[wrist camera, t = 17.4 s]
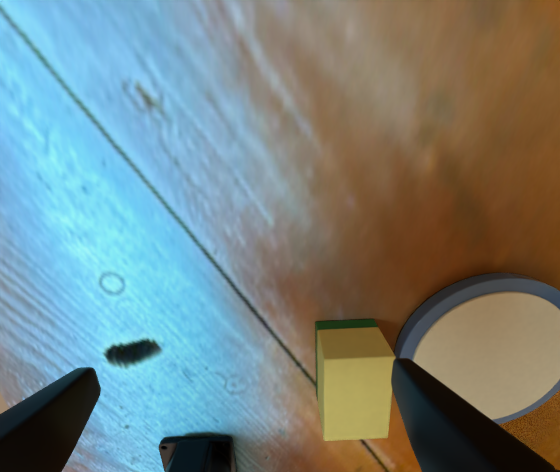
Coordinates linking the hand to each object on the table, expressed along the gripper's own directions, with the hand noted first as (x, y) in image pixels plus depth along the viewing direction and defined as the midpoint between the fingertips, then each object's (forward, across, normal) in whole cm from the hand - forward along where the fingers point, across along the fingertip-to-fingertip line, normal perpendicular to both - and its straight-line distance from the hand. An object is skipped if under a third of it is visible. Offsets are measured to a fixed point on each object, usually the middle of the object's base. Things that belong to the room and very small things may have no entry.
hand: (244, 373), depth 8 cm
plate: (+11, -17, +10) cm, 22 cm away
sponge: (+11, -6, +10) cm, 16 cm away
